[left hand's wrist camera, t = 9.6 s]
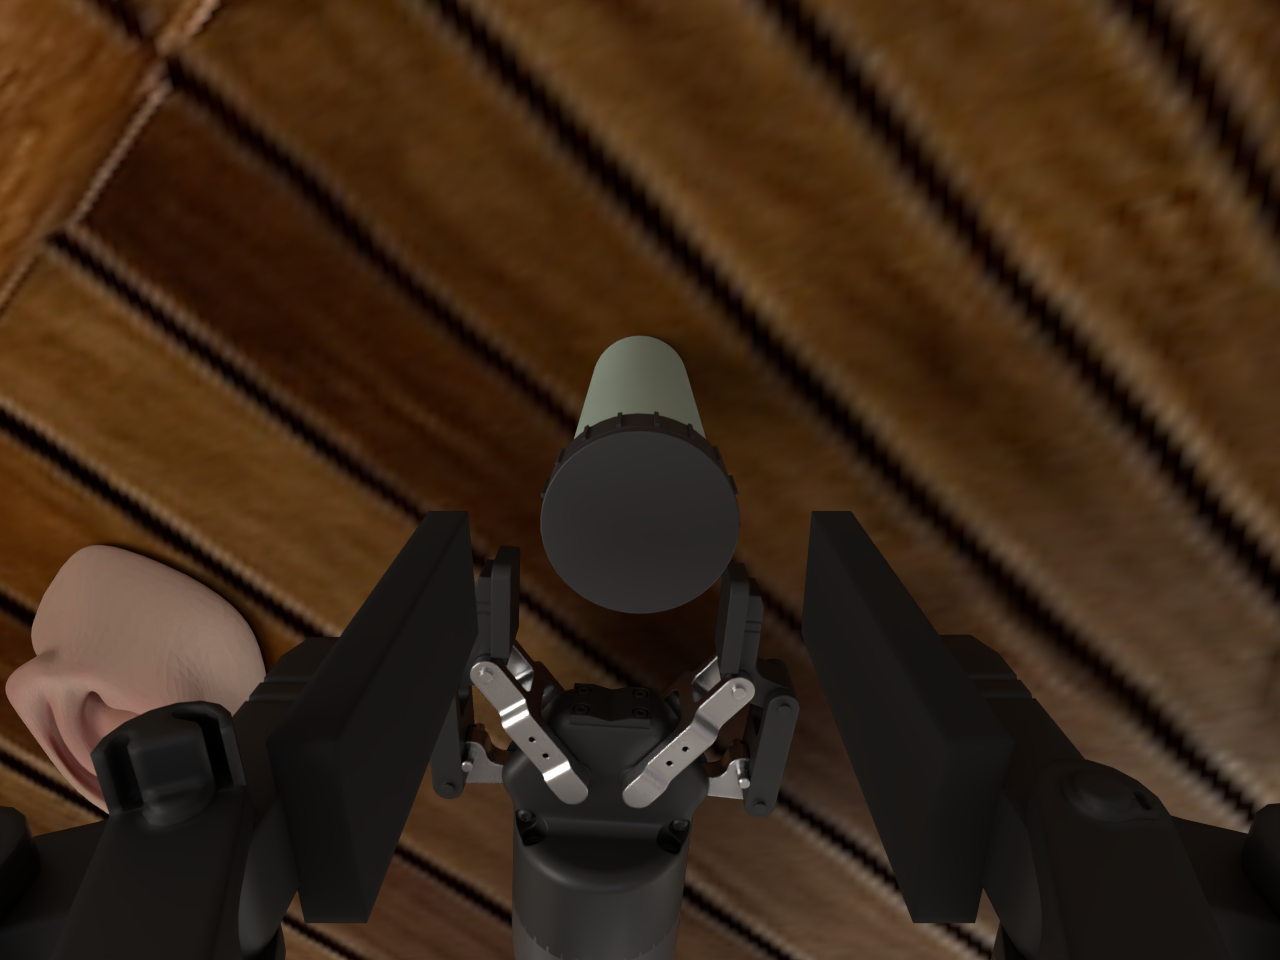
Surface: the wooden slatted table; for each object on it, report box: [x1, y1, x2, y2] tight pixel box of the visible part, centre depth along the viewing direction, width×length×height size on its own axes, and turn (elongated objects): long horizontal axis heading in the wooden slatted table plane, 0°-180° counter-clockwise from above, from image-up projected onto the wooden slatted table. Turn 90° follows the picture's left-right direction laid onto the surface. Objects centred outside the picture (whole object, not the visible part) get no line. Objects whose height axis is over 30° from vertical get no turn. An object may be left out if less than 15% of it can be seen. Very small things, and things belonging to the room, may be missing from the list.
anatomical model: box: [6, 545, 266, 814], centre depth 34 cm, size 13×4×12 cm
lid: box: [540, 411, 740, 614], centre depth 17 cm, size 5×5×2 cm
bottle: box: [574, 336, 706, 439], centre depth 24 cm, size 4×4×15 cm
